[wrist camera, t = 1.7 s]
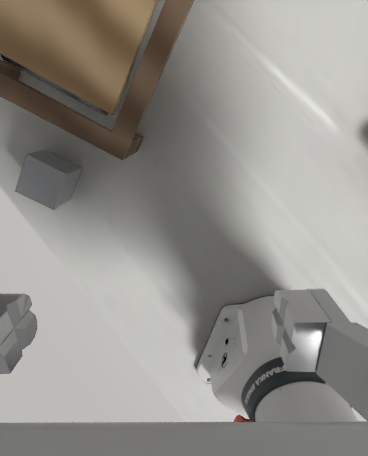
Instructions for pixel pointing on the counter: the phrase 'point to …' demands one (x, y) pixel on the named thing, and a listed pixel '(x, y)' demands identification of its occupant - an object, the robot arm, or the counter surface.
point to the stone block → (48, 178)
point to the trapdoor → (76, 44)
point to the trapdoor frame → (135, 100)
